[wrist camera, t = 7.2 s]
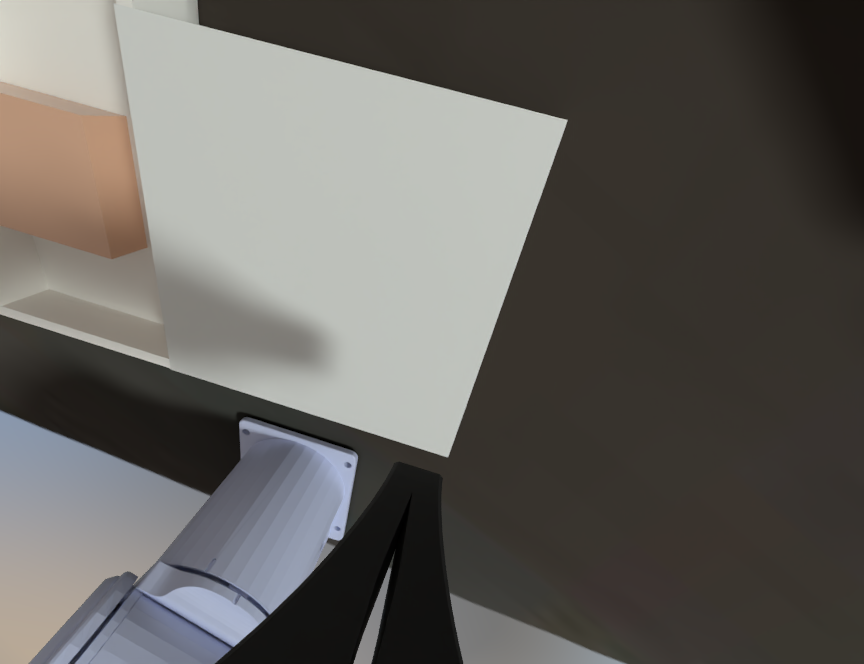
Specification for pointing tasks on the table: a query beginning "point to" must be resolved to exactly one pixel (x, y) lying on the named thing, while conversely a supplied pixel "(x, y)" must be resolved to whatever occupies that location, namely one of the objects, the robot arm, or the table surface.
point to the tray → (106, 89)
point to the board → (327, 223)
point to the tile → (68, 173)
